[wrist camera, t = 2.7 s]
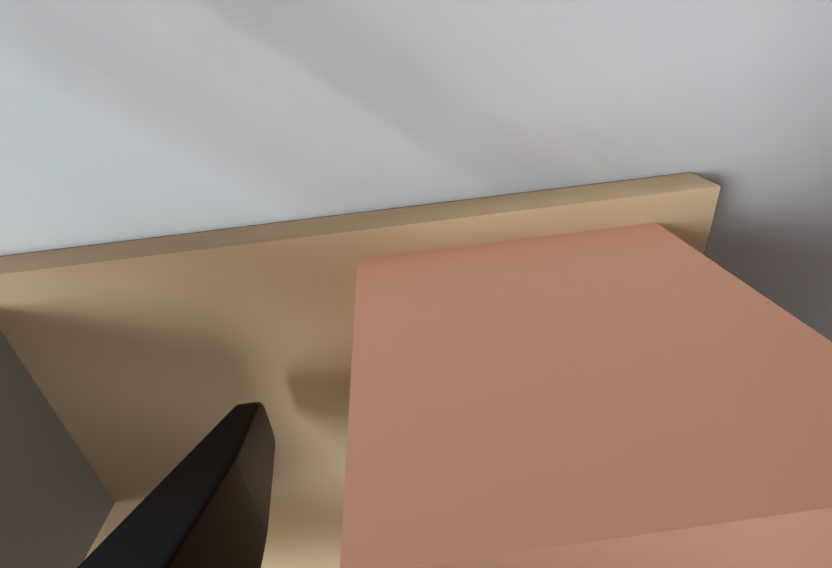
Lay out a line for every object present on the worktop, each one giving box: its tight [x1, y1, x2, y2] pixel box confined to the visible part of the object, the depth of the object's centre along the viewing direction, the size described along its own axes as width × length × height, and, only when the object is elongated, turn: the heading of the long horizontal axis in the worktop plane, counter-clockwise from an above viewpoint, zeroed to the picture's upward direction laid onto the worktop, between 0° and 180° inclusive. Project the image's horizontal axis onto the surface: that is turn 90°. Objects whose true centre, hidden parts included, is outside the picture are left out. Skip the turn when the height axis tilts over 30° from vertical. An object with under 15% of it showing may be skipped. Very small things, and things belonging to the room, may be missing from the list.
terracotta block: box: [340, 222, 832, 568], centre depth 7 cm, size 5×5×5 cm
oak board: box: [0, 173, 721, 568], centre depth 11 cm, size 15×18×1 cm
